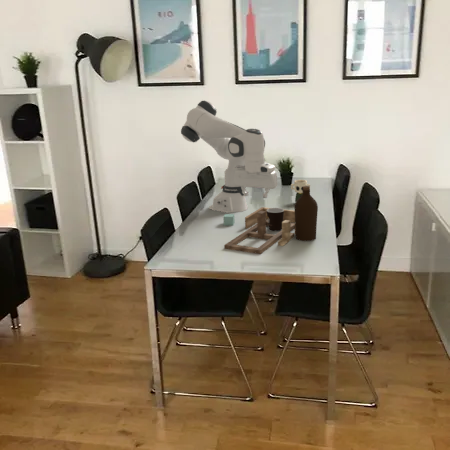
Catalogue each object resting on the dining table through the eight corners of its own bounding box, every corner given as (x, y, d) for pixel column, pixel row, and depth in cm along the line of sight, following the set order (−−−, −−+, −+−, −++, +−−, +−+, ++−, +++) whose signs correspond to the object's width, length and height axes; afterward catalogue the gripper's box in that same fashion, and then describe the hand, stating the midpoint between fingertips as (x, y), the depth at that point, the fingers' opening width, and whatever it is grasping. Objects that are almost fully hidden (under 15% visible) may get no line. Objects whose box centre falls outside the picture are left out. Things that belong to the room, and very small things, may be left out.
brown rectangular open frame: (224, 250, 230) (223, 222, 226) (263, 224, 264) (262, 199, 260) (260, 255, 222) (260, 227, 218) (295, 228, 256) (295, 203, 252)
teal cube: (223, 226, 264) (223, 216, 263) (225, 223, 269) (224, 214, 268) (233, 226, 264) (233, 216, 262) (234, 223, 268) (234, 214, 267)
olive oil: (311, 243, 234) (311, 190, 226) (290, 240, 240) (290, 187, 232) (321, 237, 242) (322, 185, 234) (300, 233, 248) (301, 183, 240)
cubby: (245, 228, 258) (244, 217, 257) (262, 217, 275) (261, 207, 273) (297, 235, 245) (297, 223, 243) (312, 223, 262) (312, 212, 260)
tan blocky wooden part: (277, 246, 232) (277, 225, 229) (289, 237, 244) (289, 217, 240) (283, 247, 231) (283, 226, 228) (294, 237, 242) (294, 217, 239)
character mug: (290, 204, 299) (290, 182, 295) (291, 201, 306) (291, 179, 302) (309, 204, 297) (310, 182, 293) (310, 201, 304) (310, 179, 300)
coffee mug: (283, 232, 250) (283, 212, 247) (265, 231, 252) (265, 212, 249) (285, 225, 261) (285, 206, 258) (268, 224, 263) (268, 206, 260)
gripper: (230, 166, 229) (231, 196, 233) (272, 169, 219) (273, 200, 224) (237, 163, 234) (238, 193, 238) (278, 166, 225) (279, 196, 229)
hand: (255, 196), depth 231 cm, fingers open, 8 cm apart
